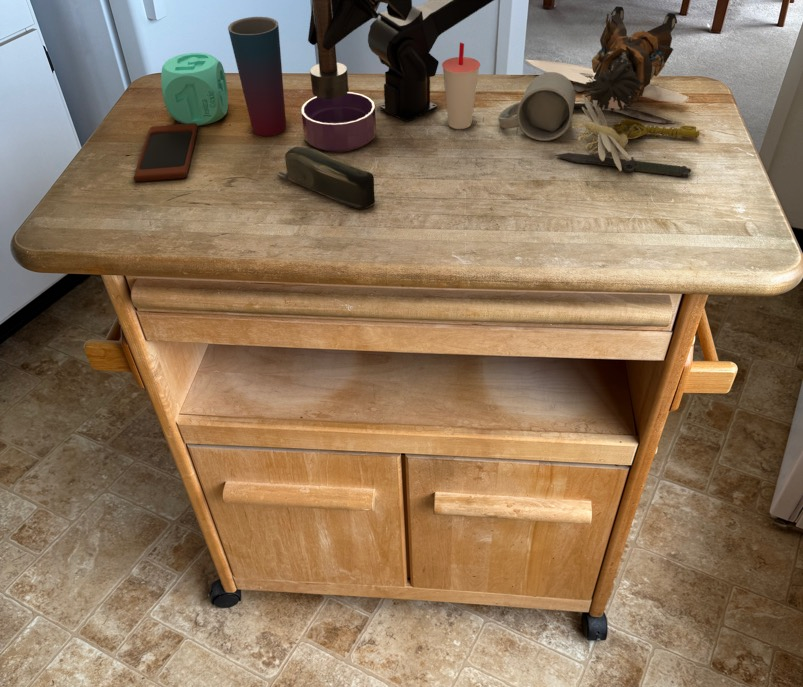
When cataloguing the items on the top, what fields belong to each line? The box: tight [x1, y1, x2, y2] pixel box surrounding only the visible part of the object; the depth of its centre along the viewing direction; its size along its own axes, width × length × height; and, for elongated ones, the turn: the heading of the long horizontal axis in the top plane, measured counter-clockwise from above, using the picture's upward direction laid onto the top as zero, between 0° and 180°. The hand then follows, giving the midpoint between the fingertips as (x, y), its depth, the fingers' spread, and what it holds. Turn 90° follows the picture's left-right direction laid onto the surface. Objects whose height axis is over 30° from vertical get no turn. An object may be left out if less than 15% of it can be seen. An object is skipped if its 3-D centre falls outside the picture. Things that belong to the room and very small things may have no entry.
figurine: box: [585, 6, 678, 113], centre depth 110 cm, size 11×13×30 cm
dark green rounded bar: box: [277, 146, 376, 210], centre depth 97 cm, size 5×3×15 cm
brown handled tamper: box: [309, 0, 350, 99], centre depth 99 cm, size 5×5×13 cm
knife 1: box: [525, 59, 690, 106], centre depth 119 cm, size 6×28×1 cm, turn 51°
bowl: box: [300, 91, 377, 153], centre depth 109 cm, size 10×10×4 cm
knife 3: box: [554, 152, 692, 178], centre depth 101 cm, size 18×1×3 cm
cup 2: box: [441, 42, 481, 130], centre depth 108 cm, size 5×5×12 cm
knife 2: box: [573, 102, 675, 124], centre depth 112 cm, size 18×1×5 cm
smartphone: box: [133, 123, 199, 182], centre depth 107 cm, size 7×1×15 cm
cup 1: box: [227, 16, 287, 137], centre depth 108 cm, size 7×7×15 cm
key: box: [611, 118, 700, 140], centre depth 107 cm, size 12×1×5 cm
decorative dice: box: [160, 52, 229, 127], centre depth 114 cm, size 8×8×8 cm
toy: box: [572, 93, 641, 172], centre depth 103 cm, size 15×9×5 cm, turn 8°
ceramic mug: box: [497, 72, 576, 142], centre depth 108 cm, size 11×8×8 cm
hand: (317, 45), depth 98 cm, fingers closed on brown handled tamper, 2 cm apart
